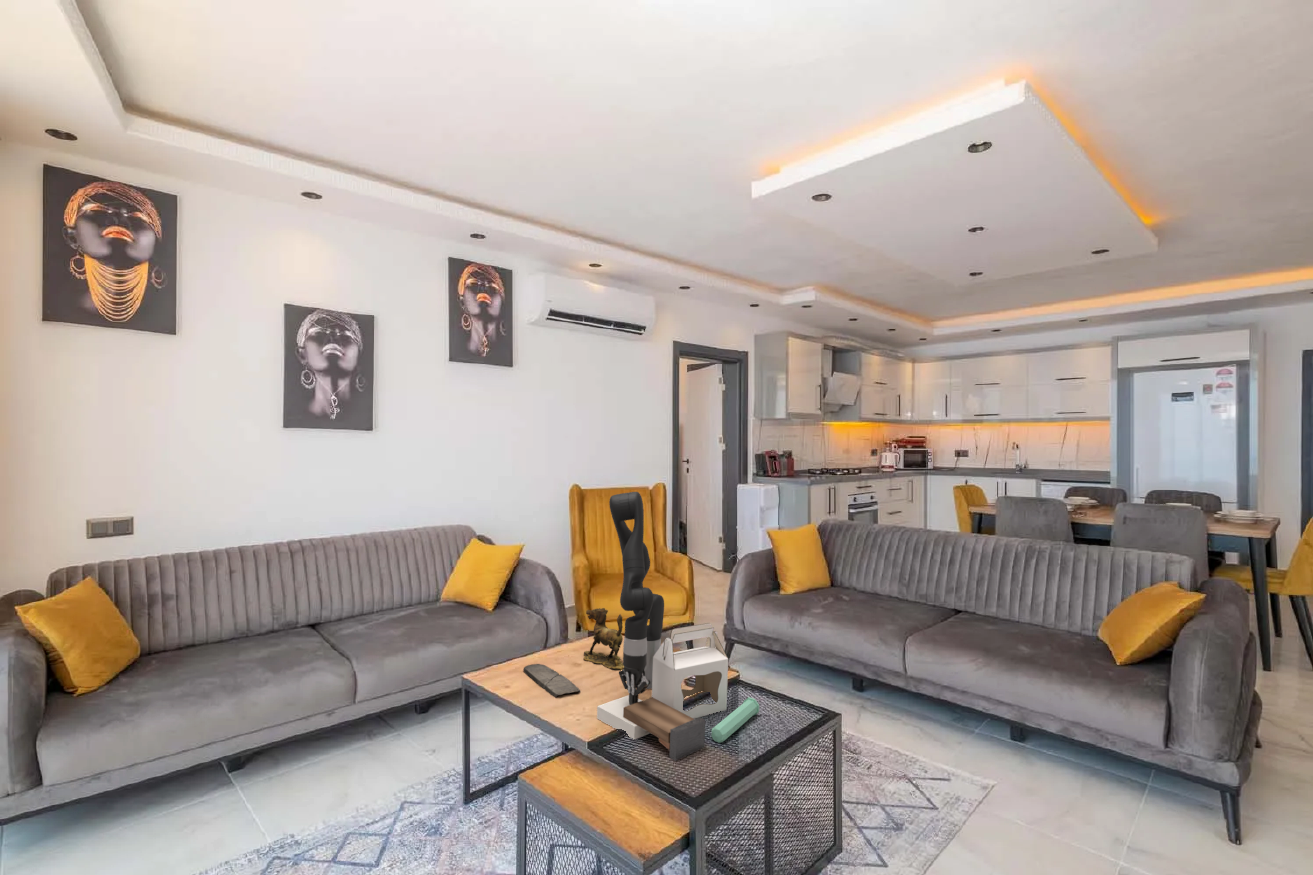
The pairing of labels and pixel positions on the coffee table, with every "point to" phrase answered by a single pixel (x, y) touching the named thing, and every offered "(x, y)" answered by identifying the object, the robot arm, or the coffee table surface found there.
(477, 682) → the coffee table surface
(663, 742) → the support block
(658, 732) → the plank
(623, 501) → the robot arm
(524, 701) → the coffee table surface
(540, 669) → the stone slab
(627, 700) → the riser
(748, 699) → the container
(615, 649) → the figurine
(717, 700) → the gable box
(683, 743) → the block
